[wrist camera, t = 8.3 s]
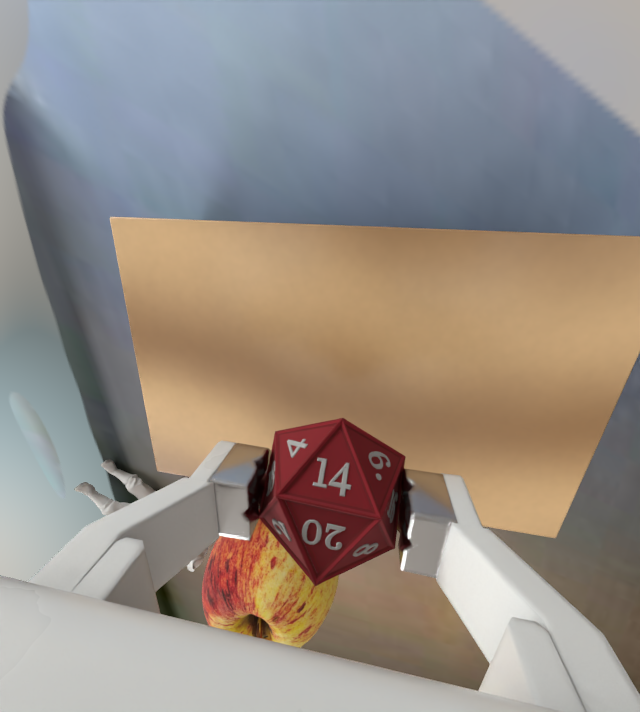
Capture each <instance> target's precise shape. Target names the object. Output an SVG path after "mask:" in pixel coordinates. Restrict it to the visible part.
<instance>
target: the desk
mask: <svg viewBox="0 0 640 712" xmlns="http://www.w3.org/2000/svg"><path fill="white" fill-rule="evenodd" d="M110 222H111V227H112V233H113V238H114V243H115V249H116V254H117V259H118V265H119V270H120V275H121V281H122V286H123V291H124V297H125V302H126V307H127V312H128V318H129V323H130V328H131V334H132V339H133V344H134V350H135V355H136V360H137V366H138V371H139V376H140V382H141V387H142V392H143V398H144V403H145V408H146V414H147V419H148V424H149V430H150V435H151V440H152V445H153V451H154V456H155V461H156V467H157V471H159V472H165V473H171V474H177V475H183V476H189V477H191V475H192V474H193V473H194V472H195V470H196V469H197V468H198V467H199V465H200V464H201V463H202V462H203V460H204V459H205V458H206V457H207V455H208V454H209V453H210V452H211V450H212V449H213V448H214V447H215V445H216V444H217V443H218V442H220V441H228V442H234V443H242V444H247V445H253V446H259V447H265V448H269V449H270V450H272V445H273V440H274V434H275V431H279V430H284V429H289V428H294V427H299V426H304V425H309V424H314V423H319V422H324V421H330V420H335V419H339V418H344V419H346V420H347V421H349V422H351V423H352V424H354V425H356V426H357V427H359V428H360V429H362V430H364V431H365V432H367V433H369V434H370V435H372V436H373V437H375V438H377V439H378V440H380V441H382V442H383V443H385V444H386V445H388V446H390V447H391V448H393V449H395V450H396V451H398V452H400V453H401V454H403V455H404V456H405V464H404V468H405V469H412V470H419V471H426V472H433V473H440V474H441V473H444V474H452V475H460V476H461V477H462V478H463V479H464V481H465V484H466V486H467V489H468V491H469V494H470V496H471V499H472V501H473V504H474V506H475V509H476V511H477V514H478V516H479V519H480V521H481V524H482V526H486V527H492V528H498V529H504V530H510V531H515V532H521V533H527V534H533V535H539V536H545V537H551V538H556V536H557V534H558V532H559V530H560V527H561V525H562V523H563V521H564V519H565V516H566V514H567V512H568V510H569V508H570V505H571V503H572V501H573V499H574V497H575V494H576V492H577V490H578V488H579V485H580V483H581V481H582V479H583V477H584V474H585V472H586V470H587V468H588V466H589V463H590V461H591V459H592V457H593V454H594V452H595V450H596V448H597V446H598V443H599V441H600V439H601V437H602V435H603V432H604V430H605V428H606V426H607V424H608V421H609V419H610V417H611V415H612V412H613V410H614V408H615V406H616V404H617V401H618V399H619V397H620V395H621V393H622V390H623V388H624V386H625V384H626V381H627V379H628V377H629V375H630V373H631V370H632V368H633V366H634V364H635V362H636V359H637V357H638V355H639V353H640V236H614V235H587V234H560V233H533V232H507V231H480V230H453V229H426V228H399V227H372V226H346V225H319V224H292V223H265V222H238V221H211V220H185V219H158V218H131V217H110Z"/></svg>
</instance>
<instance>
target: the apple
mask: <svg viewBox="0 0 640 712" xmlns="http://www.w3.org/2000/svg"><path fill="white" fill-rule="evenodd" d="M259 511H260V509H259ZM338 576H339V575H337V576H335V577H333V578H331V579H329V580H327V581H325V582H323V583H321V584H319V585H317V586H315V585H314V584H313V583H312V581H311V580H310V579H309V578H308V576H307V575H306V574H305V573H304V572H303V570H302V569H301V568H300V567H299V566H298V564H297V563H296V562H295V561H294V559H293V558H292V557H291V556H290V555H289V553H288V552H287V551H286V550H285V549H284V547H283V546H282V545H281V544H280V543H279V541H278V540H277V539H276V538H275V537H274V535H273V534H272V533H271V532H270V531H269V529H268V528H267V527H266V526H265V525H264V523H263V522H262V521H261V520H260V519H259V520H258V523H257V525H256V527H255V530H254V532H253V534H252V537H251V539H250V541H249V540H242V539H236V538H230V537H224V536H219V538H218V539H217V541H216V543H215V545H214V547H213V550H212V552H211V555H210V557H209V560H208V563H207V566H206V570H205V574H204V578H203V585H202V602H203V609H204V613H205V617H206V620H207V622H208V625H209V626H212V627H216V628H220V629H224V630H228V631H232V632H237V633H241V634H245V635H249V636H253V637H257V638H261V639H266V640H270V641H274V642H278V643H282V644H286V645H290V646H295V647H299V648H300V647H301V646H303V645H304V644H305V643H306V642H307V641H309V640H310V639H311V638H312V637H313V635H314V634H315V633H316V632H317V630H318V629H319V627H320V626H321V624H322V623H323V621H324V619H325V618H326V616H327V614H328V612H329V609H330V607H331V605H332V603H333V599H334V596H335V593H336V589H337V584H338Z"/></svg>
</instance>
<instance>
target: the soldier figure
mask: <svg viewBox="0 0 640 712" xmlns="http://www.w3.org/2000/svg"><path fill="white" fill-rule="evenodd" d="M101 466H102V467H103V468H104V469H106V470H107V471H108V472H109V473H110V474H112V475H114V476H116V477H118V478H119V479H120V480H121V481H122V482H123V483H124V484H125V485H126V488H127V490H128V491H129V492H130V493H132V494H133V495H135V496H136V497H137V498H138V499H139V500H140V499H142V498H144V497H146V496H148V495H150V494H152V493H154V492H156V491H155V490H153V488H152V487H150V486H149V485H147V484H145V483H143V482H142V479H141V478H139V477H138V475H137V474H134V475H132V474H129V473H127V472H124V471H122V470H119V469H117V467H116V465H115V464H114V462H113V461H112V460H111V459H109V460H106V461H105V462H103V463H102V464H101ZM179 480H180V479H179ZM177 481H178V480H177ZM74 490H75V491H77V492H82V493H83V494H84V495H87V496H89V497H90V499H91V500H92V501H93V502H94V503H95V504H96V505H97V506H98V507H99V509H101V512H102V514H103V515H109V514H111V513H113V512H115V511H117V510H119V509H121V508H123V507H125V506H127V505H129V503H123V502H122V503H119V502H118V501H114V500H112V499H109V498H108V497H106V496H104V495H102V494H99V493H98V492H97V491H95V488H94V487H93V486H92V485H91V484H88V483H87V482H84V483H81V484H80V485H78V486H77V487H76V488H75V489H74ZM207 551H208V548H207V549H205V550H204V551H203V552H202V553H201V554H199V555H198V556H197V557H196V558H195V559H194V560H192V561H191V562H190V563H189V564H188V565H187V566H188V570H190V571H191V572H193V571H194V570H195V569H194V568H197V567H198V566H199V565H200V564H201V563H202V561H203V559H204V557H205V555H206V554H207Z"/></svg>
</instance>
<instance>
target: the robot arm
mask: <svg viewBox="0 0 640 712" xmlns="http://www.w3.org/2000/svg"><path fill="white" fill-rule="evenodd" d="M270 455H271V450H270V449H269V448H265V447H259V446H253V445H247V444H242V443H234V442H228V441H220V442H218V443H217V444H216V445H215V447H214V448H213V449H212V450H211V452H210V453H209V454H208V455H207V457H206V458H205V459H204V460H203V462H202V463H201V464H200V465H199V467H198V468H197V469H196V470H195V472H194V473H193V474H192V475H191V477H190V478H185V477H184V478H182V479H180V480H178V481H176V482H174V483H172V484H170V485H168V486H166V487H164V488H162V489H160V490H158V491H156V492H154V493H152V494H150V495H148V496H146V497H144V498H142V499H140V500H138V501H136V502H133V503H131V504H129V505H127V506H125V507H123V508H121V509H119V510H117V511H115V512H113V513H111V514H109V515H107V516H105V517H103V518H101V519H99V520H97V521H95V522H93V523H91V524H89V525H87V526H85V527H84V528H83V529H82V530H81V531H80V532H79V533H78V534H77V535H76V536H75V537H73V538H72V539H71V540H70V541H69V542H68V543H67V544H66V545H65V546H64V547H63V548H62V549H61V550H60V551H59V552H58V553H57V554H56V555H55V556H54V557H53V558H52V559H51V560H50V561H49V562H48V563H47V564H46V565H44V566H43V567H42V568H41V569H40V570H39V571H38V572H37V573H36V574H35V575H34V576H33V577H32V578H31V579H30V580H29V581H28V582H26V581H22V580H18V579H14V578H10V577H5V576H1V575H0V712H640V695H639V693H638V691H637V690H636V688H635V686H634V685H633V683H632V681H631V679H630V678H629V676H628V674H627V673H626V671H625V669H624V668H623V666H622V664H621V663H620V661H619V659H618V658H617V656H616V654H615V653H614V651H613V649H612V648H611V646H610V644H609V643H608V641H607V639H606V638H605V636H604V634H603V633H602V632H601V631H600V630H599V629H598V628H596V627H595V626H594V625H593V624H592V623H591V622H590V621H589V620H588V619H587V618H586V617H584V616H583V615H582V614H581V613H580V612H579V611H578V610H577V609H576V608H575V607H574V606H573V605H571V604H570V603H569V602H568V601H567V600H566V599H565V598H564V597H563V596H562V595H561V594H560V593H558V592H557V591H556V590H555V589H554V588H553V587H552V586H551V585H550V584H549V583H548V582H546V581H545V580H544V579H543V578H542V577H541V576H540V575H539V574H538V573H537V572H536V571H535V570H533V569H532V568H531V567H530V566H529V565H528V564H527V563H526V562H525V561H524V560H523V559H522V558H520V557H519V556H518V555H517V554H516V553H515V552H514V551H513V550H512V549H511V548H510V547H509V546H507V545H506V544H505V543H504V542H503V541H502V540H501V539H500V538H499V537H498V536H497V535H495V534H494V533H493V532H492V531H491V530H490V529H486V528H483V526H482V524H481V521H480V519H479V516H478V514H477V511H476V509H475V506H474V504H473V501H472V499H471V496H470V494H469V491H468V489H467V486H466V484H465V481H464V479H463V478H462V477H461V476H460V475H452V474H444V473H441V474H440V473H433V472H426V471H419V470H412V469H405V468H403V471H402V479H401V489H402V490H401V499H400V505H399V516H398V525H397V530H398V531H399V532H400V538H399V543H398V548H399V558H400V569H401V570H402V571H406V572H411V573H415V574H420V575H424V576H429V577H433V578H437V579H436V581H437V582H438V584H439V585H440V587H441V589H442V590H443V592H444V593H445V595H446V596H447V598H448V599H449V601H450V603H451V604H452V606H453V607H454V609H455V610H456V612H457V613H458V615H459V617H460V618H461V620H462V621H463V623H464V624H465V626H466V627H467V629H468V631H469V632H470V634H471V635H472V637H473V638H474V640H475V641H476V643H477V645H478V646H479V648H480V649H481V651H482V652H483V654H484V655H485V657H486V659H487V660H488V662H489V663H490V666H489V668H488V670H487V673H486V675H485V677H484V679H483V682H482V684H481V686H480V688H479V691H476V690H472V689H468V688H464V687H460V686H455V685H451V684H447V683H443V682H439V681H435V680H431V679H427V678H423V677H418V676H414V675H410V674H406V673H402V672H398V671H394V670H390V669H385V668H381V667H377V666H373V665H369V664H365V663H361V662H357V661H352V660H348V659H344V658H340V657H336V656H332V655H328V654H324V653H320V652H315V651H311V650H307V649H303V648H299V647H295V646H290V645H286V644H282V643H278V642H274V641H270V640H266V639H261V638H257V637H253V636H249V635H245V634H241V633H237V632H232V631H228V630H224V629H220V628H216V627H212V626H207V625H203V624H199V623H195V622H191V621H187V620H183V619H179V618H174V617H170V616H166V615H162V614H160V610H159V606H158V602H157V598H156V594H155V592H156V591H157V590H158V589H159V588H160V587H162V586H163V585H164V584H165V583H166V582H168V581H169V580H170V579H171V578H172V577H173V576H175V575H176V574H177V573H178V572H179V571H181V570H182V569H183V568H184V567H185V566H186V565H188V564H189V563H190V562H191V561H192V560H194V559H195V558H196V557H197V556H198V555H199V554H201V553H202V552H203V551H204V550H205V549H207V548H208V547H209V546H210V545H211V544H212V543H214V542H215V541H216V540H217V539H218V538H219V536H224V537H230V538H236V539H242V540H249V541H250V539H251V537H252V534H253V532H254V530H255V527H256V525H257V523H258V520H259V509H260V506H261V501H262V495H263V492H264V489H265V486H264V485H265V480H266V475H267V470H268V465H269V460H270Z"/></svg>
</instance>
